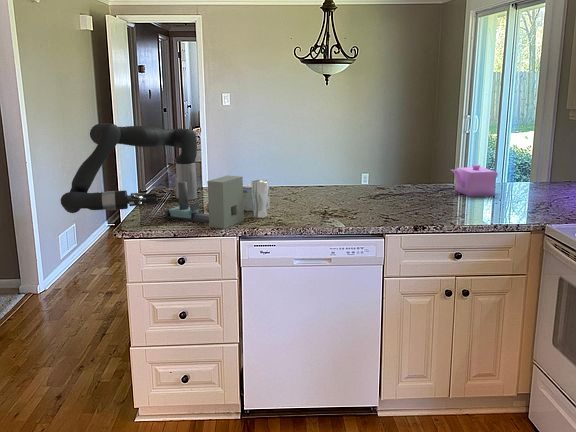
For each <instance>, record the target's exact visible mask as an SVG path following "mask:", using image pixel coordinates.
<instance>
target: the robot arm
mask: <svg viewBox="0 0 576 432" xmlns="http://www.w3.org/2000/svg"><path fill="white" fill-rule="evenodd" d="M89 137H90V139H91V141H92V142H93V143H94V144H96V147H95V148H94V150H93V151H92V153H91V154H90V155H89V156H88V157H87V158H86V159H85V160H84V161H83V162H82V164H80V166H79V167H78V169H77V170H76V172H75V174H74V177H73V179H72V180H71V188H70V191H69V192H66V193H64V194H62V196H61V198H60V205H61V206H62V208H63V209H64V210H65V211H66V212H67V213H70V214H76V213H78V212H79V211H80V210H83V209H85V210H86V209H87V210H90V211H116V210H120V211H121V210H127V209H128V208H129V207H139V206H140V207H141V206H142V207H144V206H145V205H148V204H149V205H150V204H156V203H157V197H158V195H157V193H147V192H131V193H130V194H129V195H128V192H127V190H112V191H111V190H108V191H102V192H99V191H98V192H89V190H90V188H91V186H92V184H93V182H94V180H95V178H96V176H97V174H98V172H99V171H100V169H101V167H102V166H103V164H104V163H105V162H106V160H107V158H108V157H109V156H110V154H111V153H112V152H113V150H114V148H116V146H117V145H124V146H131V147H139V148H155V147H156V148H157V147H160V146H167V147H173V148H176V149H177V148H178V149H180V154H179V155H177V156H176V157H175V172H176V178H175V179H174V184H175V186H174V187H175V189H174V190H175V198H176V199H177V200H179V191H178V182H187V192H188V201H191V200H196V199H198V188H197V187H198V185H197V170H196V169H197V168H196V167H197V166H196V160H197V159H196V158H197V154H198V152H197V149H198V147H197V146H198V145H197V144H198V143H197V141H198V140H197V135H196V133H195V131H194V130H193V129H190V128H171V129H168V128H167V129H164V128H163V129H162V128H159V127H156V126H152V125H151V126H149V125H128V126H118V125H117V124H115V123H107V122H106V123H105V122H104V123H103V122H102V123H101V122H100V123H97V124H95V125H94V126H92V127H91V129H90V131H89Z"/></svg>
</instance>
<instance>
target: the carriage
mask: <svg viewBox="0 0 576 432" xmlns="http://www.w3.org/2000/svg"><path fill="white" fill-rule="evenodd" d="M178 191H179V199H178V206H176V207H171V208H172V209H171V208H168V209H169V212H170V215H171V216H174V217H182V218H189V219H190V218H192V216H191V214H192V213H199V212H200V208H199V207H200V206H199V205H200V204H199V201H195V202H192V203H189V200H188V192H187V182H178Z"/></svg>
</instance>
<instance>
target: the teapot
mask: <svg viewBox="0 0 576 432" xmlns="http://www.w3.org/2000/svg"><path fill="white" fill-rule="evenodd" d="M450 171H451V172H453V173H454V174H453V175H454V177H455V188H454V189H455V191H456V192H458V193H460V194H463V195H464V196H466V197H490V196H491V197H492V196H495V193H496V192H495V191H496V179H497V177H498V172H497V171H495V170H492V169H489V168H486V167H483V166H481V164H472V167H471V166H470V167H467V166H466V167H457V168H456V169H450Z"/></svg>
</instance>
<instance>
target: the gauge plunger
mask: <svg viewBox="0 0 576 432" xmlns="http://www.w3.org/2000/svg"><path fill="white" fill-rule="evenodd" d="M205 210H206V214H207V213H208V214H209V207H208V203H207V204H206V207H205Z"/></svg>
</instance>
